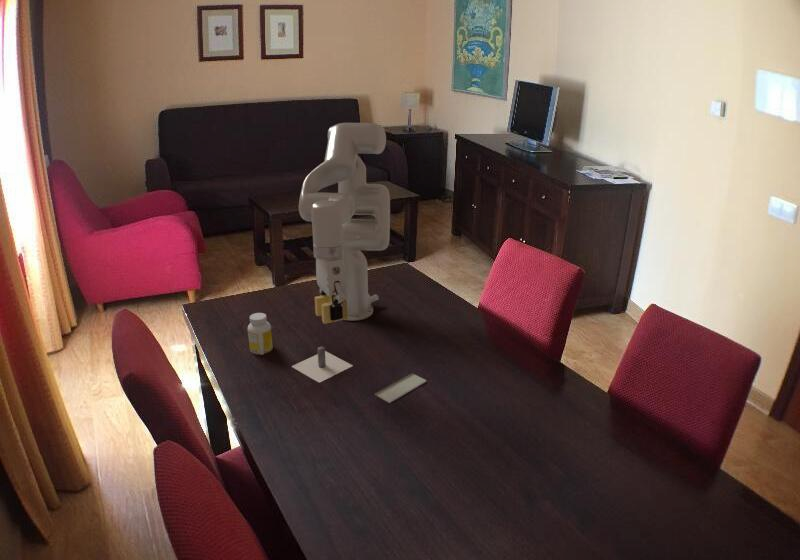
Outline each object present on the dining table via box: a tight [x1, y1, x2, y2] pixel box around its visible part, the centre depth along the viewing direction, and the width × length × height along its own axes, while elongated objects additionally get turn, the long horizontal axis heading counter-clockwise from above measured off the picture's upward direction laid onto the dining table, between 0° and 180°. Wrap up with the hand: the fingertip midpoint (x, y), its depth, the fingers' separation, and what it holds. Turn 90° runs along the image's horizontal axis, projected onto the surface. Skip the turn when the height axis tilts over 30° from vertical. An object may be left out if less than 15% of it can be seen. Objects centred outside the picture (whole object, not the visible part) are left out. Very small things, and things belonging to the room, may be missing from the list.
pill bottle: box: [247, 312, 274, 356], centre depth 183 cm, size 6×6×12 cm
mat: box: [373, 372, 427, 404], centre depth 170 cm, size 14×14×1 cm
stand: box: [291, 346, 354, 383], centre depth 175 cm, size 12×12×6 cm
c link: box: [314, 292, 348, 325], centre depth 168 cm, size 6×6×5 cm
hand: (331, 313), depth 169 cm, fingers closed on c link, 6 cm apart
